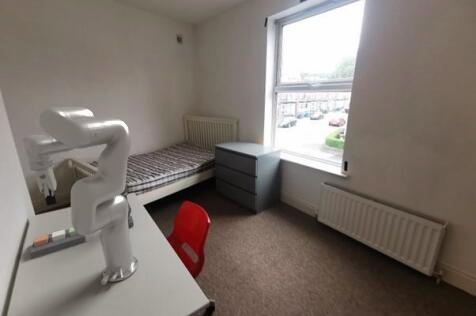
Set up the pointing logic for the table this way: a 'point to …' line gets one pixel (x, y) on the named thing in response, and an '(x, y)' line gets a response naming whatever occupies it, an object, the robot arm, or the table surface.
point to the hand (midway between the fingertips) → (51, 204)
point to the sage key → (72, 232)
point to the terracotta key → (41, 240)
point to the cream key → (58, 235)
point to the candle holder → (130, 220)
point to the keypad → (56, 244)
